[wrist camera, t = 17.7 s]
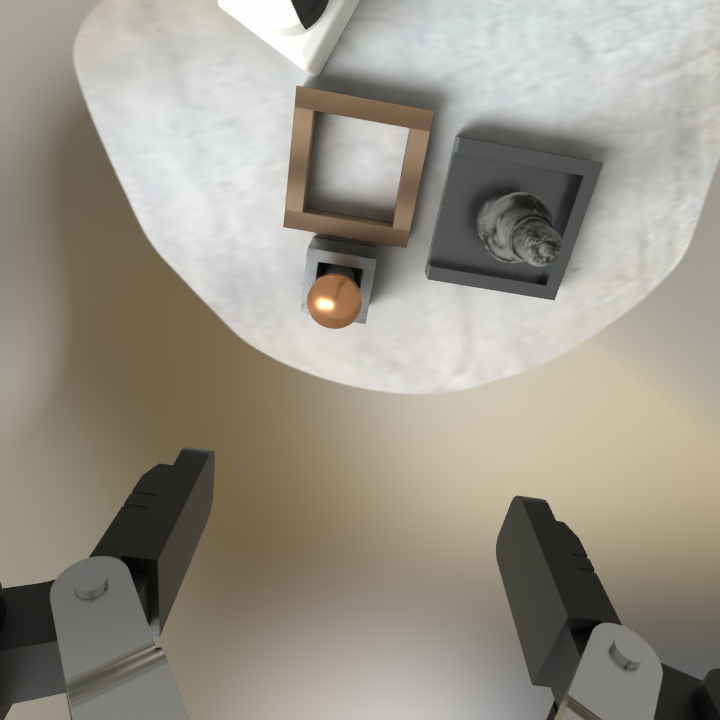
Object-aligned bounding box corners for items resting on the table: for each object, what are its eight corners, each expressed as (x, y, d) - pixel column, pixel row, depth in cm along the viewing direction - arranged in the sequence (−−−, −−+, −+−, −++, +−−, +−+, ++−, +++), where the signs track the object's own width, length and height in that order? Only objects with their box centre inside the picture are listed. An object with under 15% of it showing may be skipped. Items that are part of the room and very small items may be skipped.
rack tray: (455, 136, 42) (460, 137, 40) (590, 160, 43) (603, 163, 40) (425, 271, 47) (427, 279, 45) (545, 291, 48) (554, 300, 46)
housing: (313, 237, 46) (307, 248, 42) (376, 247, 46) (376, 259, 42) (306, 297, 49) (300, 313, 44) (365, 307, 49) (365, 323, 45)
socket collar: (300, 87, 41) (296, 85, 38) (430, 111, 41) (434, 111, 39) (287, 221, 45) (283, 227, 43) (404, 241, 46) (406, 247, 44)
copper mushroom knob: (318, 251, 45) (310, 272, 38) (366, 259, 45) (365, 281, 39) (313, 296, 47) (304, 324, 40) (358, 304, 47) (356, 332, 41)
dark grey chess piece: (487, 264, 46) (522, 308, 35) (463, 205, 43) (493, 233, 33) (548, 235, 44) (605, 272, 34) (527, 173, 42) (581, 191, 31)
